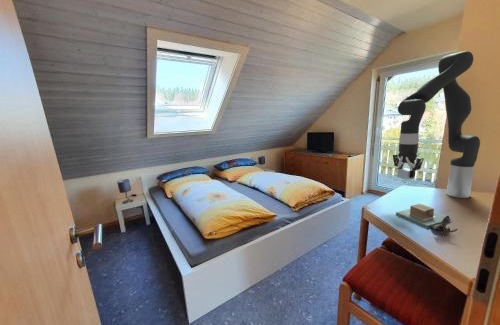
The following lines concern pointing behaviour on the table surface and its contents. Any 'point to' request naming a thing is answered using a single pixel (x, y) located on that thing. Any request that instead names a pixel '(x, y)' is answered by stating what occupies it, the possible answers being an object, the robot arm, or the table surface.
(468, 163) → the robot arm
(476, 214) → the table surface
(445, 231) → the eagle figurine
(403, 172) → the blue-grey brick
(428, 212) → the walnut brick
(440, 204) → the table surface
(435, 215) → the board
